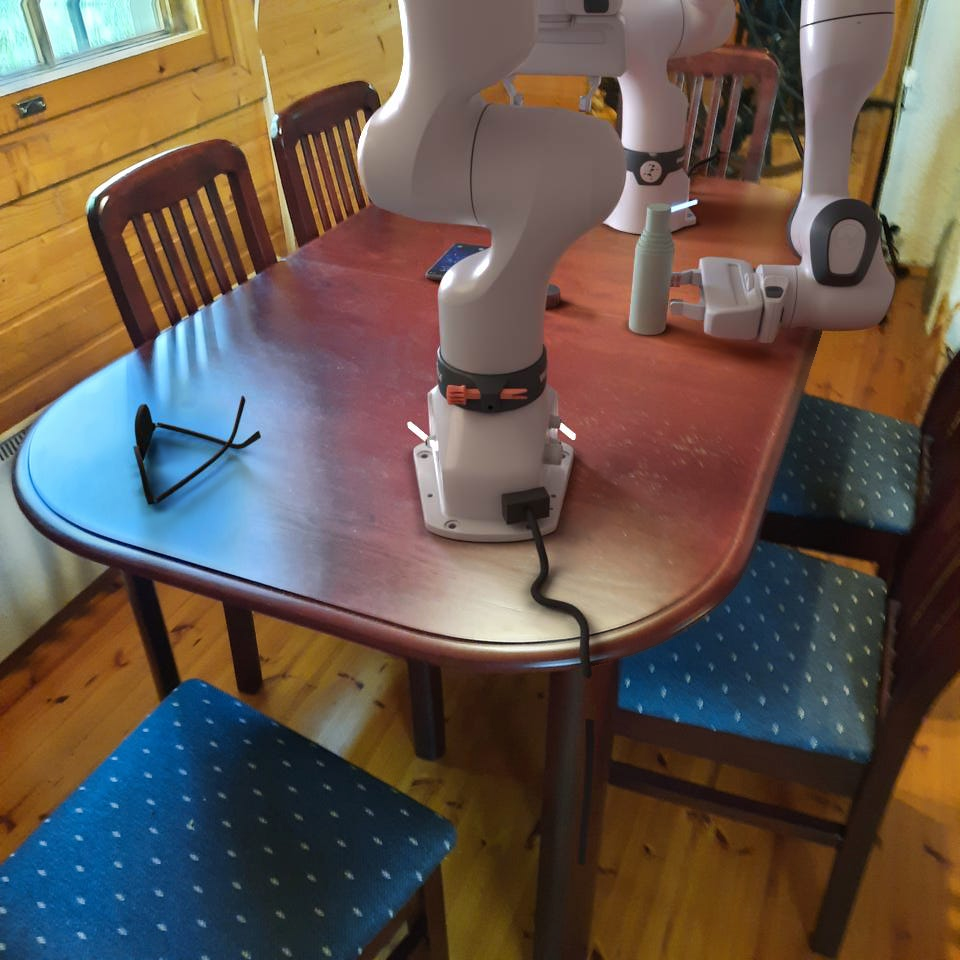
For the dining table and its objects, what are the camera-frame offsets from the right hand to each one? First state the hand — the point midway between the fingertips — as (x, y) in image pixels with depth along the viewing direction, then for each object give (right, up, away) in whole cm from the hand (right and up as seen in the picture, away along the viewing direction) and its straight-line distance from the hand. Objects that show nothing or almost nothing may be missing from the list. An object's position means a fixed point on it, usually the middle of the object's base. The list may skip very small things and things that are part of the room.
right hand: (668, 292), depth 123 cm
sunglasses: (-60, -24, -21) cm, 68 cm away
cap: (-17, +2, +10) cm, 20 cm away
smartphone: (-31, +10, +24) cm, 40 cm away
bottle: (-2, -4, +4) cm, 6 cm away
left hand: (-18, +24, -6) cm, 30 cm away
